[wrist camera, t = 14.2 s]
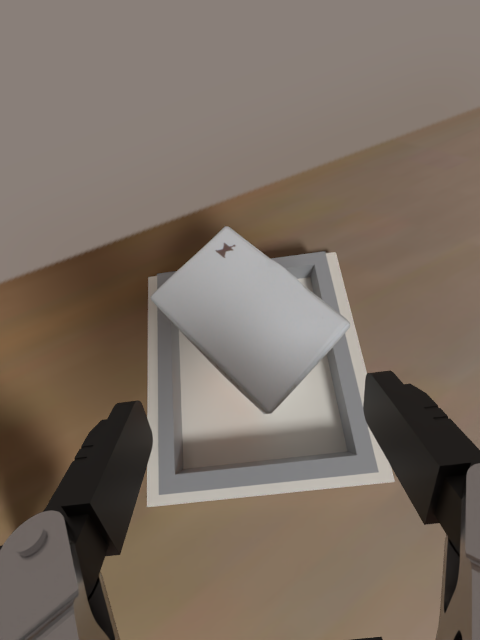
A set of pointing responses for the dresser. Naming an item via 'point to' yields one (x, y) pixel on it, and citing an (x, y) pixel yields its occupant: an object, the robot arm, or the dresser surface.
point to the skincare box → (250, 318)
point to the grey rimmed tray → (257, 414)
